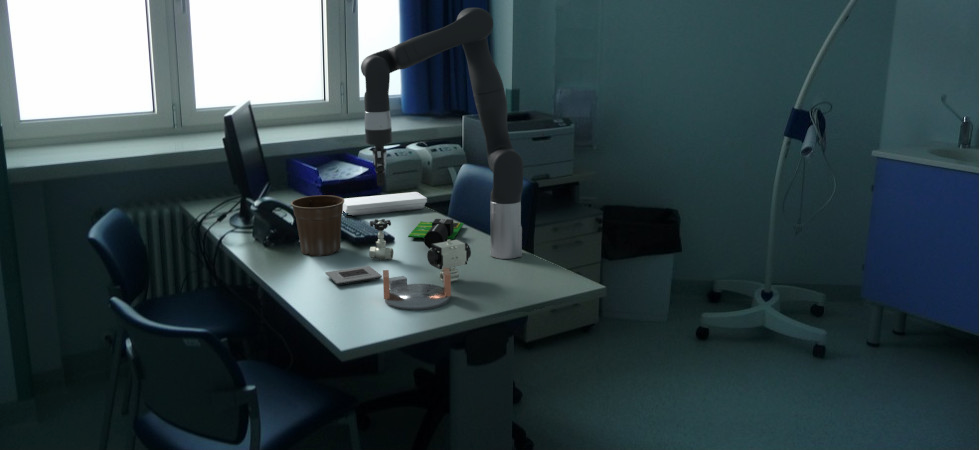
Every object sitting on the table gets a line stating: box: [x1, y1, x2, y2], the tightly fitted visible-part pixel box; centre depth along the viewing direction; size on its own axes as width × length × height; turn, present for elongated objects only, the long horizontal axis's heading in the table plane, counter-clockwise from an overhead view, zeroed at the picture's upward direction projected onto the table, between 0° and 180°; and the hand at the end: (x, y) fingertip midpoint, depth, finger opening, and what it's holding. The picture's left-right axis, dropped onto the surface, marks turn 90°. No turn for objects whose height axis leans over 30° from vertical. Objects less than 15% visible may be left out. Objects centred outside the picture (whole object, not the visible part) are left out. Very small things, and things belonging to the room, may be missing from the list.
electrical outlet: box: [325, 265, 383, 286], centre depth 253 cm, size 13×10×2 cm
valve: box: [368, 218, 394, 261], centre depth 270 cm, size 7×7×12 cm
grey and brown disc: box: [382, 268, 452, 312], centre depth 236 cm, size 18×17×8 cm
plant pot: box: [290, 194, 345, 257], centre depth 279 cm, size 16×16×16 cm
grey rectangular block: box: [389, 275, 408, 290], centre depth 247 cm, size 5×2×2 cm, turn 118°
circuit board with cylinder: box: [407, 218, 465, 250], centre depth 294 cm, size 30×7×15 cm
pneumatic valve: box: [426, 239, 472, 283], centre depth 250 cm, size 6×12×12 cm, turn 124°
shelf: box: [343, 191, 428, 217], centre depth 329 cm, size 12×30×5 cm, turn 113°
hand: (381, 182), depth 259 cm, fingers open, 8 cm apart
